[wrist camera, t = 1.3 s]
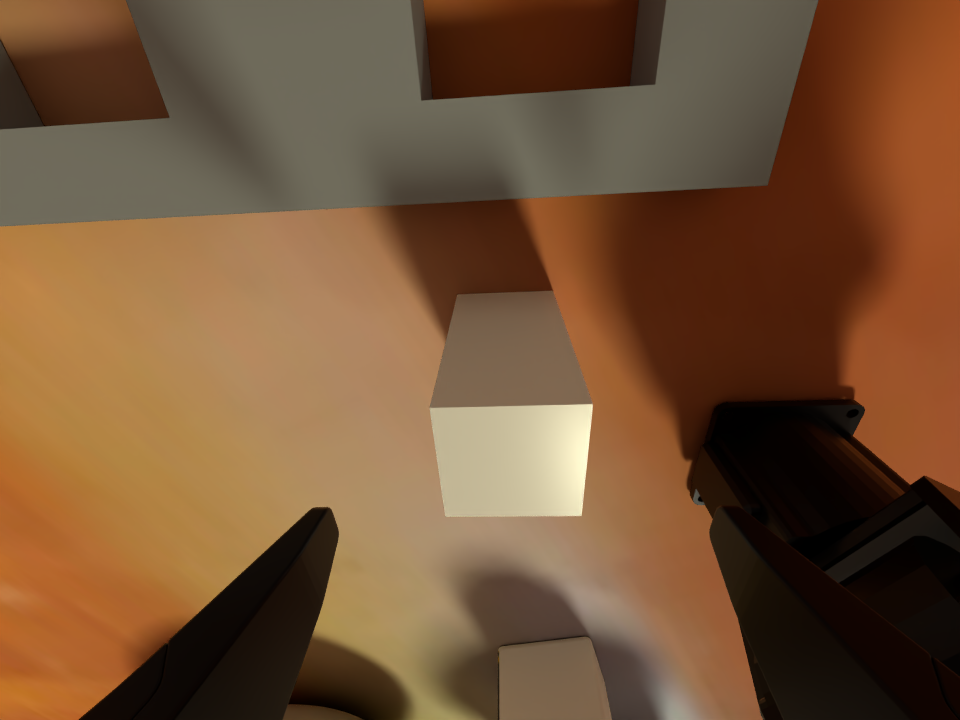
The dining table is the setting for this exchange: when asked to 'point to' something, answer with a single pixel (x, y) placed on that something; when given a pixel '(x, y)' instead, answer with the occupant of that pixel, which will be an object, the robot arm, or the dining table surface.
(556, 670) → the medicine bottle
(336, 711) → the soup bowl
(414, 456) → the dining table surface
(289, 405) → the dining table surface
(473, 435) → the plug
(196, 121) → the socket board
